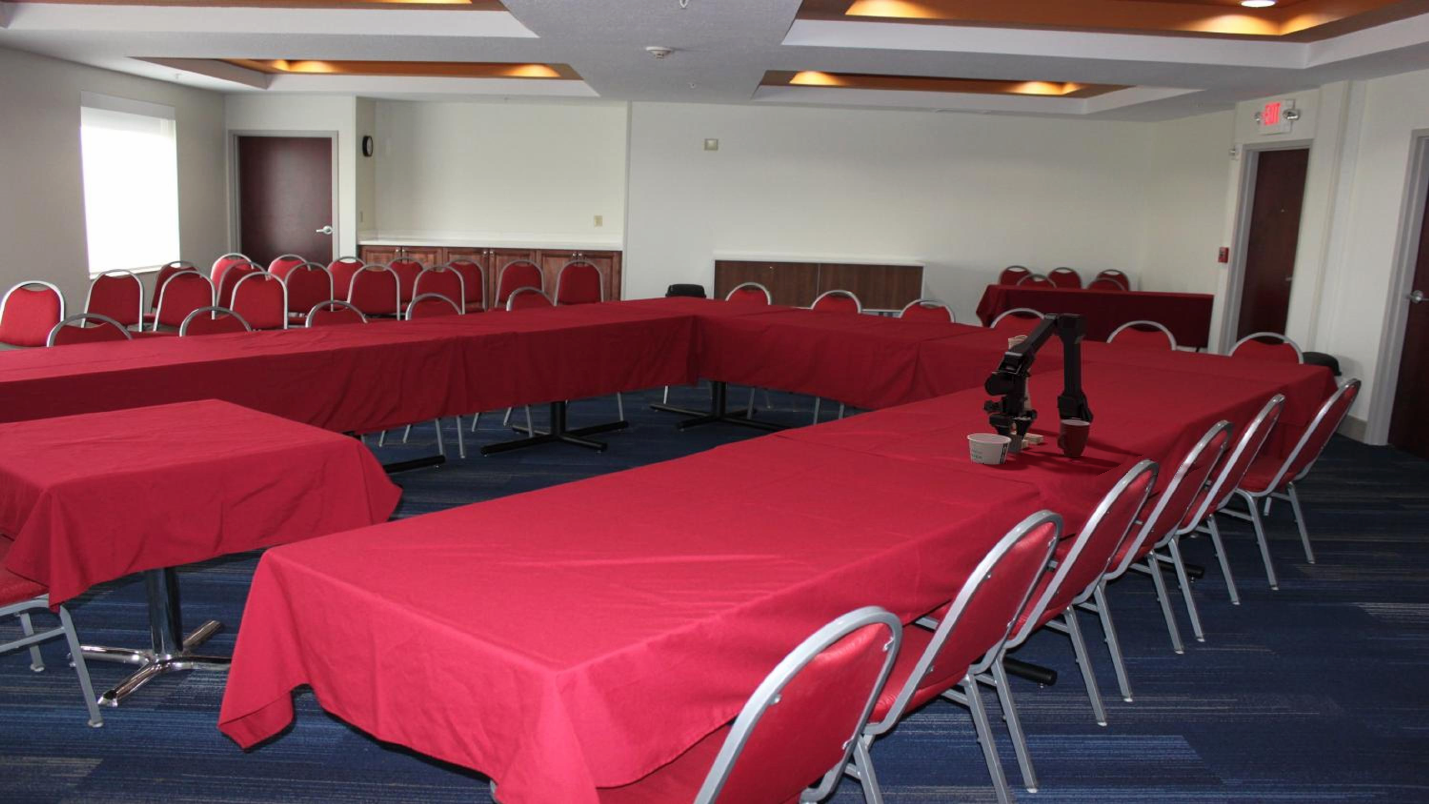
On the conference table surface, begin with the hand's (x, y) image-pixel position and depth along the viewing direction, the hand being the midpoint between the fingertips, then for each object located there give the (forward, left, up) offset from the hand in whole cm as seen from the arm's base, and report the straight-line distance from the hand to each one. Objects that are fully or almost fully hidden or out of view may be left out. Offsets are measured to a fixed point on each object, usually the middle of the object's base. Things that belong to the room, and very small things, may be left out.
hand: (1011, 445), depth 312 cm
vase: (-33, -16, -2) cm, 37 cm away
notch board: (-12, -4, -2) cm, 13 cm away
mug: (-7, +15, -2) cm, 17 cm away
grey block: (0, 0, -2) cm, 2 cm away
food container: (+15, +1, -2) cm, 15 cm away
